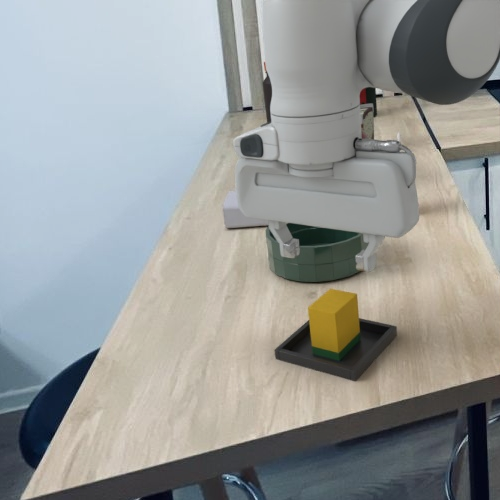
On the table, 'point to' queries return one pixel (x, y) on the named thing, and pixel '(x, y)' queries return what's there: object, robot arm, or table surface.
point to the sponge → (334, 324)
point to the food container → (367, 119)
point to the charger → (238, 214)
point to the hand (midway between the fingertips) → (327, 262)
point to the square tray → (352, 363)
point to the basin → (316, 253)
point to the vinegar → (267, 94)
